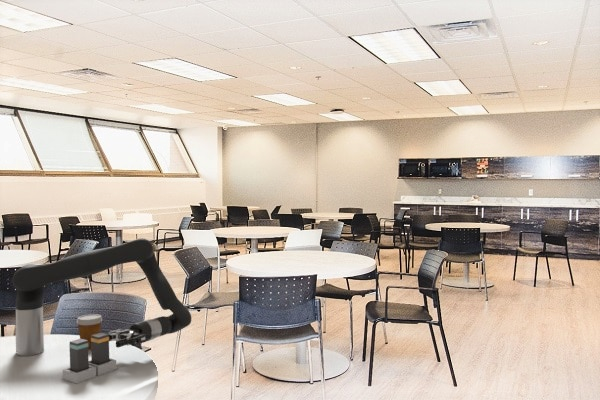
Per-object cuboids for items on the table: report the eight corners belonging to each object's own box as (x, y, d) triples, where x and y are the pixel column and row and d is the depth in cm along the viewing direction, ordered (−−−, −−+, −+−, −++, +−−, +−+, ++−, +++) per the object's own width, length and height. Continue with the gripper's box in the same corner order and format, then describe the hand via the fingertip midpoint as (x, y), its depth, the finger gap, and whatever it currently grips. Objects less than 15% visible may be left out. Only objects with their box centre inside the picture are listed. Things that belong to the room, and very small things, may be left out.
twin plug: (70, 378, 173) (69, 341, 172) (81, 374, 176) (80, 338, 176) (77, 380, 170) (77, 343, 170) (89, 376, 174) (88, 340, 173)
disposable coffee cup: (94, 351, 203) (93, 320, 203) (71, 350, 205) (71, 319, 204) (107, 344, 212) (107, 314, 212) (86, 342, 214) (85, 313, 214)
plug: (91, 370, 179) (90, 335, 179) (101, 367, 183) (101, 332, 182) (99, 373, 177) (98, 337, 177) (109, 369, 181) (108, 334, 180)
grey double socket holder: (61, 382, 172) (60, 369, 172) (103, 367, 186) (103, 355, 185) (76, 387, 168) (75, 374, 168) (118, 372, 181) (118, 360, 181)
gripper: (132, 318, 200) (95, 328, 186) (159, 323, 192) (121, 334, 178) (133, 338, 200) (95, 349, 186) (159, 344, 192) (122, 357, 178)
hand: (108, 342), depth 182 cm, fingers open, 8 cm apart
